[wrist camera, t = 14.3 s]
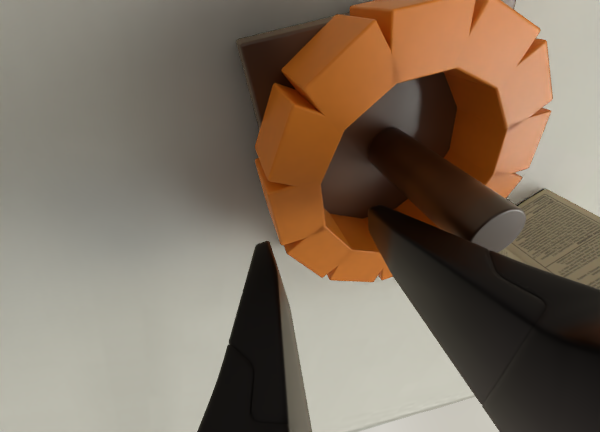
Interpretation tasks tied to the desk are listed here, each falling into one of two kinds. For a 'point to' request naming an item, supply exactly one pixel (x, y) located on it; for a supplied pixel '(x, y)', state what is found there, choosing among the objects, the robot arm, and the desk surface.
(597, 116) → the desk surface
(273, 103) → the orange ring
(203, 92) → the desk surface
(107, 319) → the desk surface
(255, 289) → the robot arm
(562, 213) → the box
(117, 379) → the desk surface
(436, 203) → the brown peg stand
